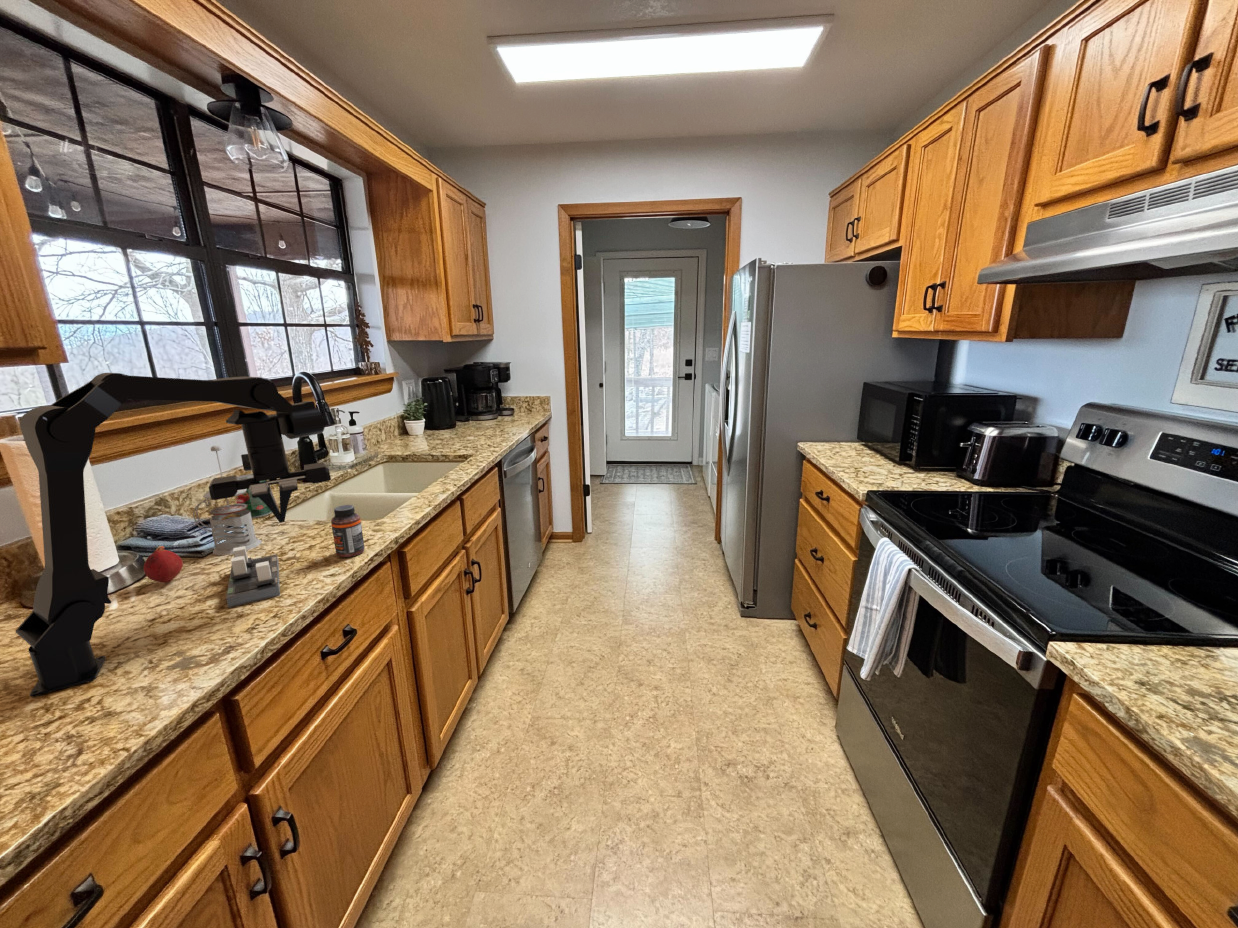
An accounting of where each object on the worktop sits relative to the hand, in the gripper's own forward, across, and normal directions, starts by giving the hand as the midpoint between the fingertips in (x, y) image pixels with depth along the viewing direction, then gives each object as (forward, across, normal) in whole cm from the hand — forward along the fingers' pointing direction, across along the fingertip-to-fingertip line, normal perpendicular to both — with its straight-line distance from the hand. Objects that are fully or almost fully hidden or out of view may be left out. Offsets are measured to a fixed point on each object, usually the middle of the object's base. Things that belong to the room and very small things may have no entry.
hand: (282, 521), depth 97 cm
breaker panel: (+14, +7, -6) cm, 16 cm away
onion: (+14, +22, -17) cm, 31 cm away
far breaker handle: (+11, +9, -12) cm, 18 cm away
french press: (+14, +12, -32) cm, 36 cm away
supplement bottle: (+14, -11, -10) cm, 21 cm away
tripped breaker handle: (+11, +5, 0) cm, 12 cm away
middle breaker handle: (+11, +9, -6) cm, 15 cm away
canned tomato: (+14, +7, -57) cm, 60 cm away
